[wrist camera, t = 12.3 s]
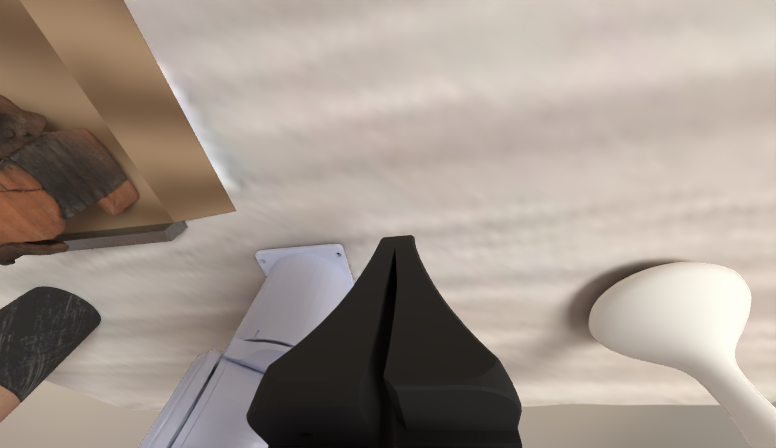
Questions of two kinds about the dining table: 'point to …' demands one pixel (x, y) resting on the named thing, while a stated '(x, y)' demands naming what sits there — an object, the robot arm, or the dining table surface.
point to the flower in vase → (688, 334)
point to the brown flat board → (108, 105)
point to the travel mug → (38, 339)
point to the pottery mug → (50, 182)
